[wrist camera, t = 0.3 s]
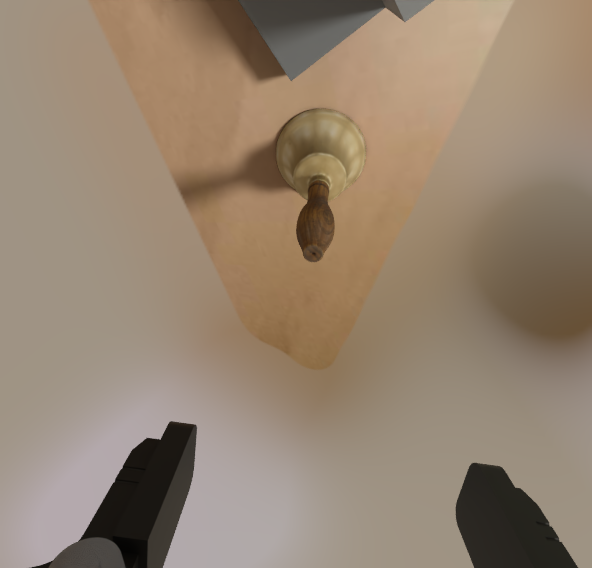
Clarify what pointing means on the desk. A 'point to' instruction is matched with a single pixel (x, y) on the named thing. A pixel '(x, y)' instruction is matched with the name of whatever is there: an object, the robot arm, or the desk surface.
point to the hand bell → (319, 170)
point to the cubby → (316, 25)
